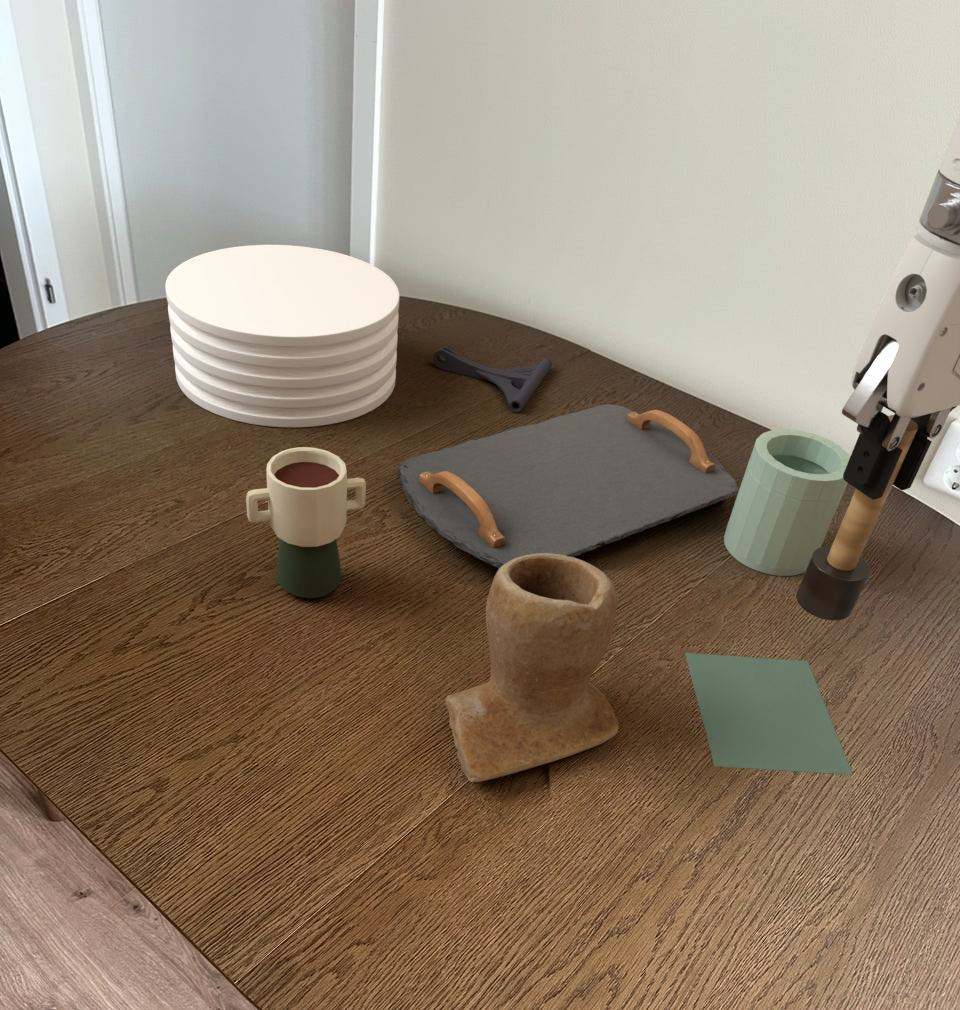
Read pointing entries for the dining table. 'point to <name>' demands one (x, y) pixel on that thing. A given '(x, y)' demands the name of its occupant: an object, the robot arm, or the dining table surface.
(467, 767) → the stone cup
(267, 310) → the plate stack
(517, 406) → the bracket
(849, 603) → the wood and black rod
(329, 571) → the character mug
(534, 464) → the serving tray
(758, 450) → the jar
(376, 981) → the dining table surface
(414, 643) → the dining table surface
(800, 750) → the mat
